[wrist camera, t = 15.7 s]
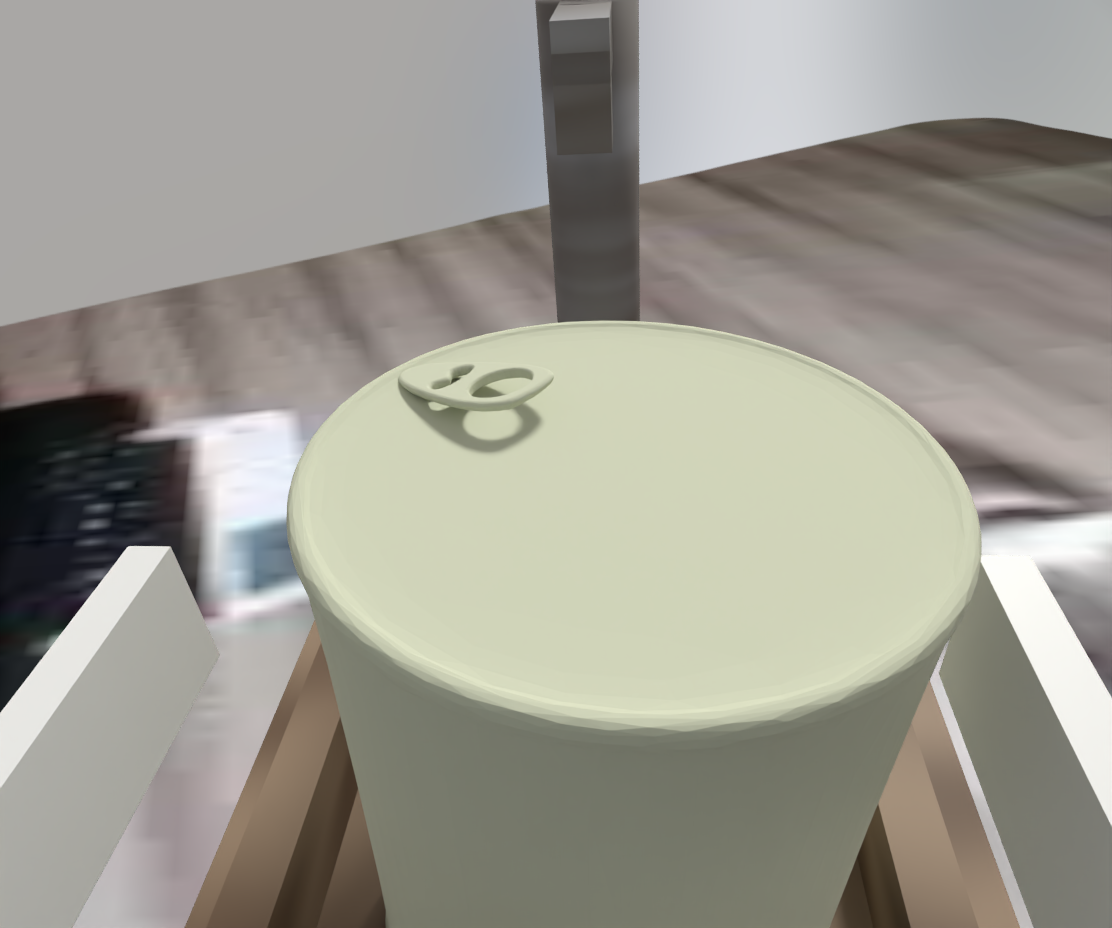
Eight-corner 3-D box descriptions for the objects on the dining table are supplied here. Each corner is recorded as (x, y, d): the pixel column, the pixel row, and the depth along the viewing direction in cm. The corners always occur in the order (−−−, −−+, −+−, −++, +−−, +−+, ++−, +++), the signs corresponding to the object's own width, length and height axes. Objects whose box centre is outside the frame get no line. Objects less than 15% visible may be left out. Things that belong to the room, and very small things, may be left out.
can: (553, 663, 23) (552, 256, 16) (877, 844, 19) (1064, 388, 12) (294, 940, 17) (115, 472, 10) (686, 1309, 12) (846, 921, 6)
